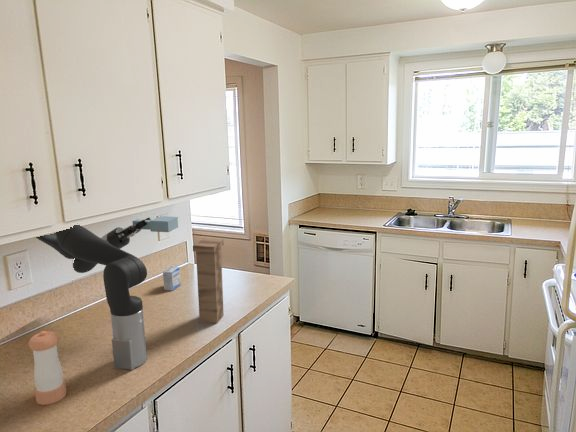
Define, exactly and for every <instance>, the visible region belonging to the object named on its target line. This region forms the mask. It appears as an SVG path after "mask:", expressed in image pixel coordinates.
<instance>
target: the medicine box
mask: <svg viewBox="0 0 576 432" xmlns="http://www.w3.org/2000/svg"><path fill="white" fill-rule="evenodd" d="M180 269H181V267H179V266H170V267H168V269H165V271H163V272H162V278H163V287H164V288H163V289H164V291H171V292H173V291H174V290H176V289H177V288H178V287H180V286H181V284H182V283H181V270H180Z"/></svg>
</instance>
